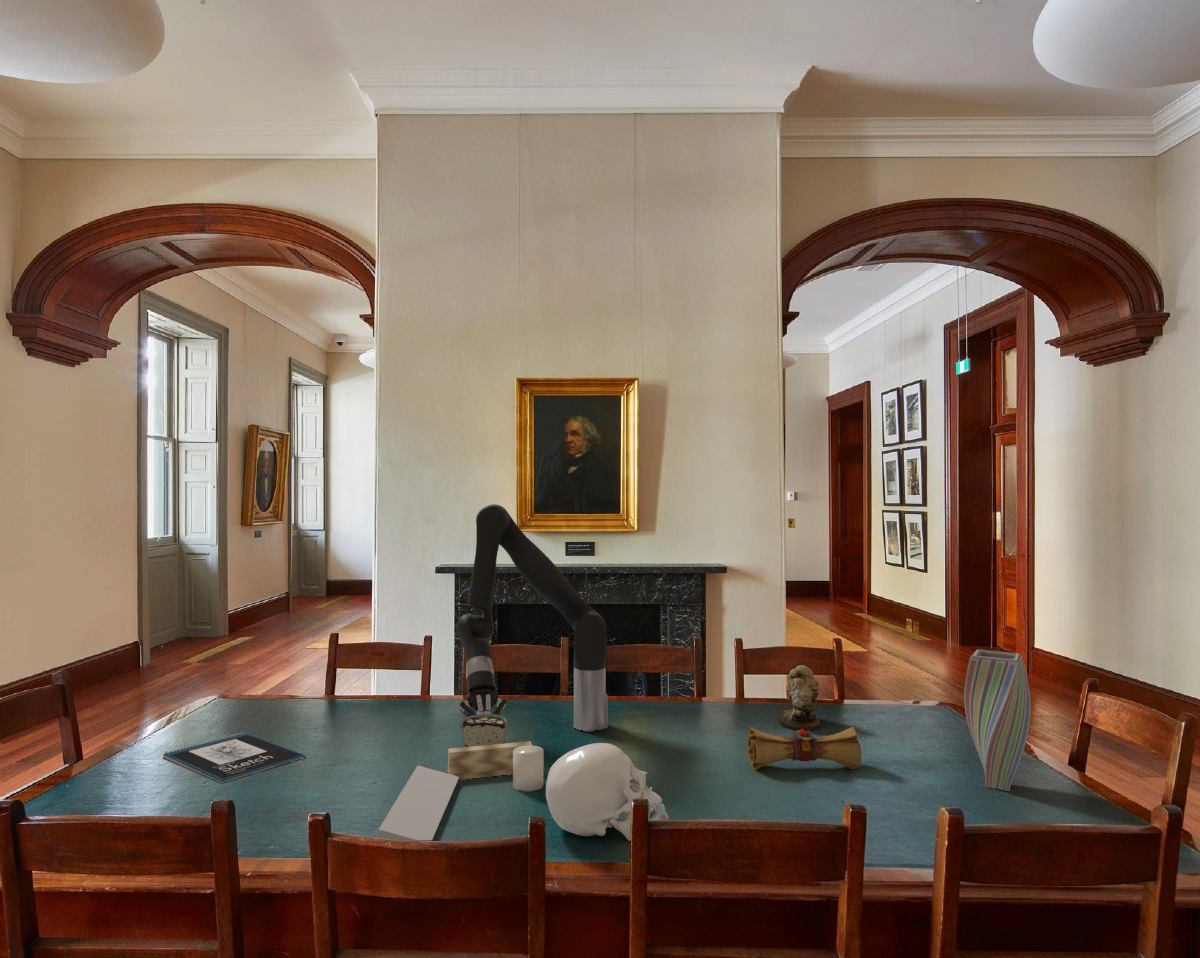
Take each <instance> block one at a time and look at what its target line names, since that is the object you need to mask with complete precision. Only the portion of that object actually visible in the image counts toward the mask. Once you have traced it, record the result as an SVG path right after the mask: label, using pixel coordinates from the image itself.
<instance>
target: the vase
mask: <svg viewBox="0 0 1200 958" xmlns="http://www.w3.org/2000/svg"><path fill="white" fill-rule="evenodd" d="M1028 679H1029V678H1028V675H1027V670H1026V666H1025V662H1024V658H1023V655H1021V654H1020V653H1015V652H1005V651H995V650H986V649H985V650H984V649H976V650H975V651H974V653H973V654H971V656H970V657H969V660H968V664H967V670H966V674H965V681H964V690H963V704H964V711H965V716H966V717H965V718H966V720H967V721H966V722H967V726H968V729H969V733H970V735H971V738H972V740H973V743H974V746H975V749H976V752H977V754H978V757H979V759H980V762H981V764H982V767H983V772H984V778H985V779H984V780H985V782H984V786H985V788H991V789H997V790H1002V791H1006V792H1007V791H1008V792H1010V790H1011V785H1012V782H1013V780H1014V777H1015V776H1016V773H1017V770H1018V767H1019V764H1020V762H1021V759H1022V756H1023V753H1024V750H1025V746H1026V743H1027V739H1028V734H1029V729H1030V724H1031V723H1030V722H1031V711H1032V709H1031V706H1032V704H1031V692H1030V686H1029V681H1028Z"/></svg>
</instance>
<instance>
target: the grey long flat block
mask: <svg viewBox="0 0 1200 958" xmlns="http://www.w3.org/2000/svg"><path fill="white" fill-rule="evenodd" d="M458 779H459V777H458V776H455V775H451V774H448V772H447V773H446V772H443V771H440V770H436V769H432V768H429V767H425V766H422V765H417V766H416V768H415V769H414V771H413V772H412V774H411V776H410V777H409V778H408V781H407V782H406V784H404V787H403V789H402V790H401V792H400V793H399V794H398V796H397V798H396V799H395V802H394V803H393V805H392V806H391V808H390V810H389V812H388V813H387V814H386V816H385V818H384V820H382V823H381V825H380V826H379V828H378V829H377V833H376V836H375V838H376V837H380V838H392V839H404V840H433V839H434V836H435V834H436V831H437V829H438V828H439V824H440V822H441V821H442V818H443V815H444V813H445V811H446V809H447V806H448V804H449V802H450V799H451V797H452V795H453V792H454V791H455V788H456V785H457V784H458Z"/></svg>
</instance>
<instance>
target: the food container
mask: <svg viewBox="0 0 1200 958" xmlns="http://www.w3.org/2000/svg"><path fill="white" fill-rule="evenodd" d="M461 728H462V737H463V745H464V746H463V747H473V746H484V745H495V744H505V740H506V731H507V730H509V723H508V721H507V719H506V717H505V716H502V715H501V714H500V715H495V714H493V713H491V714H485V713H483V714H479V715H477V714H476V715H473V716H469V717H466V716H465V717H464V718H462V720H461V723H460V726H459V729H461Z"/></svg>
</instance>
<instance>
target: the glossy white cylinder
mask: <svg viewBox="0 0 1200 958" xmlns="http://www.w3.org/2000/svg"><path fill="white" fill-rule="evenodd" d="M544 752H545V751H544V748H543V747H541V746H538V745H533V746H520V747H517V748H515V749H514V750H513V775H512V788H513V789H514V788H515V790H516V791H519V790H521V791H520V792H535V791H538V790H540V789H542V788H543V787H544V758H545V757H544ZM534 790H535V791H534Z"/></svg>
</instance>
